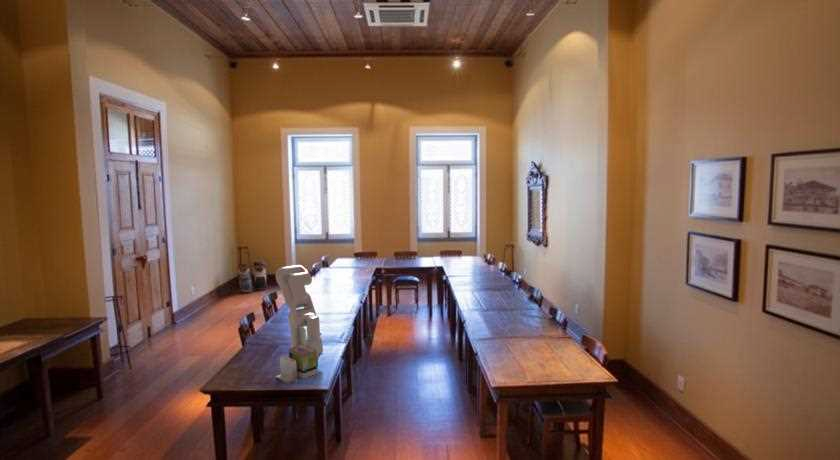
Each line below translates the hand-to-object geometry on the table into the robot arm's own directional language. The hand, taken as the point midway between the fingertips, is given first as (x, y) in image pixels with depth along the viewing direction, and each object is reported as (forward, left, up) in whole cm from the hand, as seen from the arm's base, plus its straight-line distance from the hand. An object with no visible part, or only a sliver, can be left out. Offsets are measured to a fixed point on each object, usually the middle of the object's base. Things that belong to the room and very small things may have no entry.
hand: (315, 366), depth 276 cm
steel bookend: (0, -20, -2) cm, 20 cm away
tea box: (0, -8, -2) cm, 8 cm away
